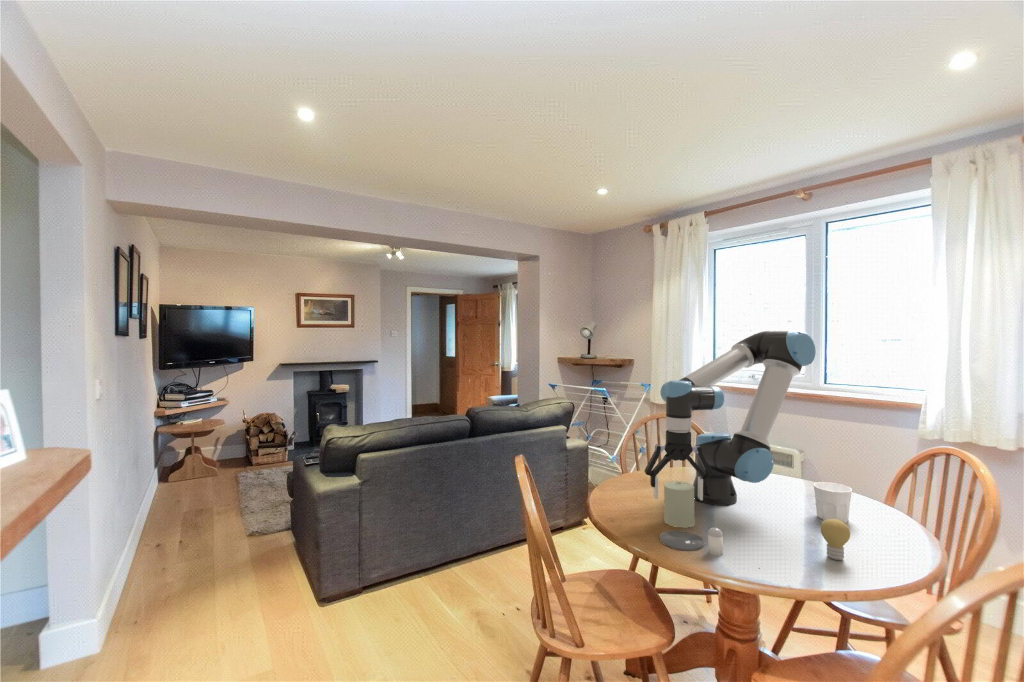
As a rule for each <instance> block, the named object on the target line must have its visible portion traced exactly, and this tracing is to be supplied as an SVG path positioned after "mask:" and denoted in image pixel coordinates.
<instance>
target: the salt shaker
mask: <svg viewBox="0 0 1024 682" xmlns="http://www.w3.org/2000/svg"><path fill="white" fill-rule="evenodd" d="M723 535H724V534H723V532H722V530H721V529H720V528H718V527H711V528H709V530H708V532H707V550H708V551H707V553H708V554H709V555H711V556H713V557H722V556H723V553H724V552H723V551H724V550H723V549H724V546H723V542H724V541H723Z"/></svg>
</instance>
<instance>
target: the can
mask: <svg viewBox="0 0 1024 682" xmlns="http://www.w3.org/2000/svg"><path fill="white" fill-rule="evenodd" d="M694 488H695V487H694V486H693V483H689V482H685V481H679V480H677V481H675V480H672V481H665V483H663V497H664V500H663V504H664V506H663V507H664V510H663V512H664V515H663V516H664V517H663V521H665V522H666V523H667V525H668V524H669V525H668V526H670V525H672V526H671V527H673V526H676V527H675V528H678V527H683V528H682V529H688V527H690V528H693V527H694V526H695V525H696V522H695V520H696V519H695V499H694ZM665 522H664V523H665ZM666 523H665V524H666ZM692 526H693V527H692Z"/></svg>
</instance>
